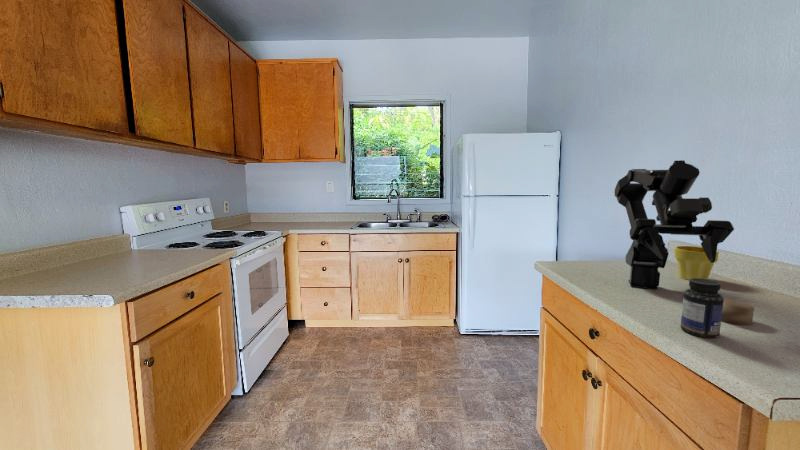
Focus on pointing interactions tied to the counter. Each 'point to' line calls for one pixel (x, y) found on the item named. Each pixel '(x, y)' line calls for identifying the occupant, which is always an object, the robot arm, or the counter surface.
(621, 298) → the counter surface
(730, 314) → the stand
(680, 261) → the plant pot
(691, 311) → the pill bottle
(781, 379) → the counter surface
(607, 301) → the counter surface
